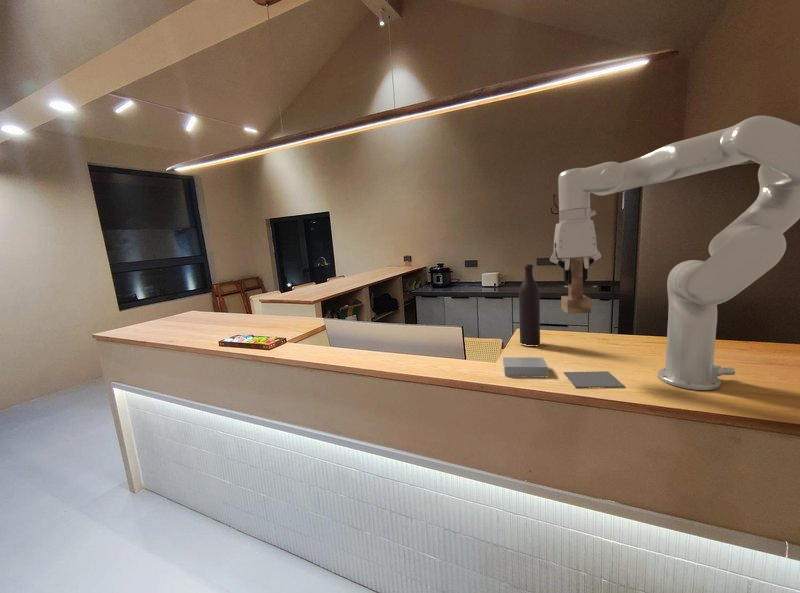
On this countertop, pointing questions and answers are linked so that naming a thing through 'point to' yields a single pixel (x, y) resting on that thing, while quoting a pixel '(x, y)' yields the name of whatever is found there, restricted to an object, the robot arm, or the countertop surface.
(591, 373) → the mat
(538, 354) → the countertop surface
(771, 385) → the countertop surface
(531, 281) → the wine bottle
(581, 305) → the tamper
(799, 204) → the robot arm
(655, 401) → the countertop surface
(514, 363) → the tile
